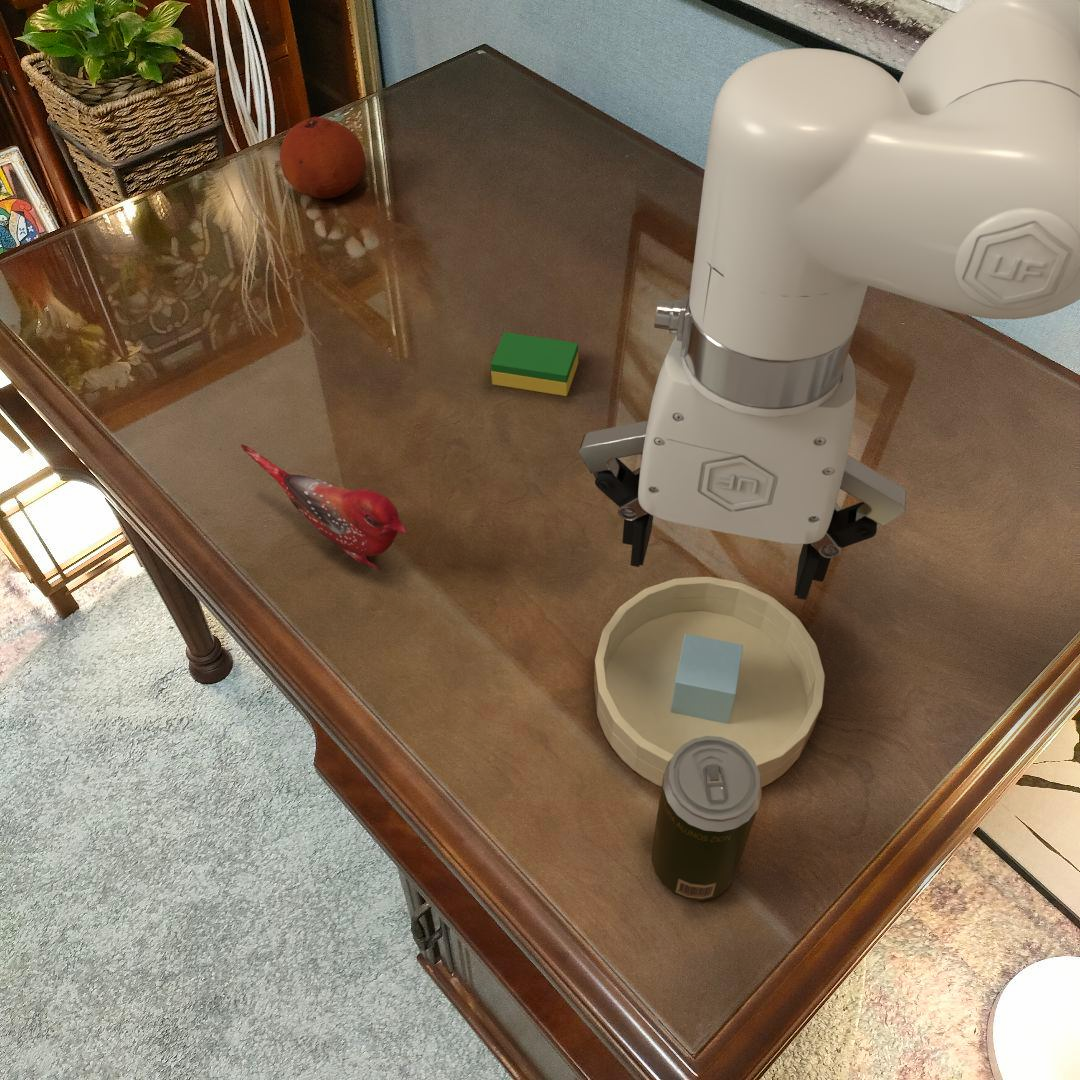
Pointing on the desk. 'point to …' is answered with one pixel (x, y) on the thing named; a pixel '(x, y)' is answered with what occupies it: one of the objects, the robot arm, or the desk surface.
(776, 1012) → the desk surface
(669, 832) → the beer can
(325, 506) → the decorative bird figurine
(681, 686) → the ice cube
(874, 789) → the desk surface
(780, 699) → the bowl
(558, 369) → the scrubber
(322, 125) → the fruit
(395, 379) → the desk surface
